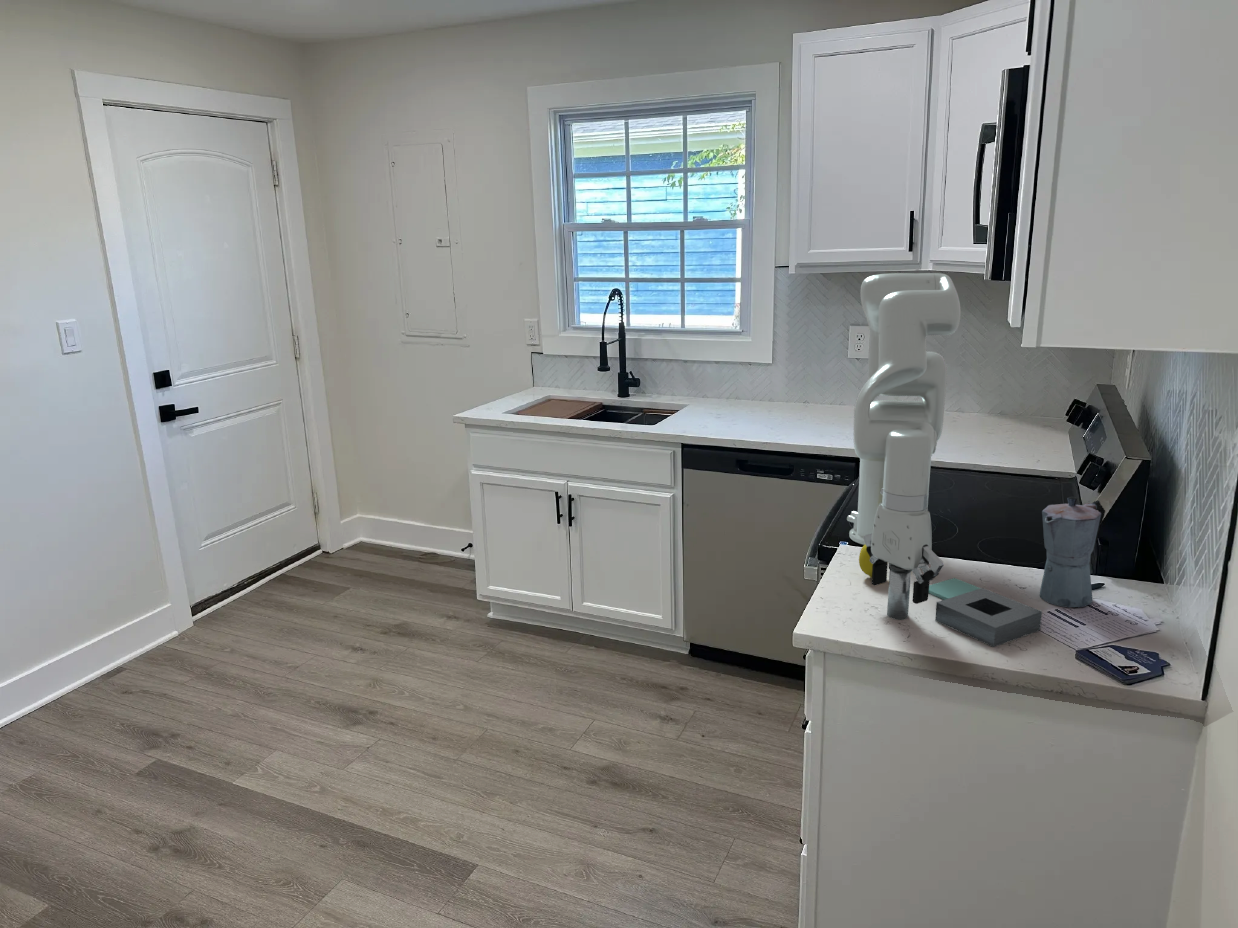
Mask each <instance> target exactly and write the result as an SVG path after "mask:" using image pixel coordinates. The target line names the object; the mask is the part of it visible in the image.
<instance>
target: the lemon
mask: <svg viewBox="0 0 1238 928" xmlns="http://www.w3.org/2000/svg"><path fill="white" fill-rule="evenodd" d="M866 548H867V546H866V544H865V545H862V547H861V550H860V552H859V555H858V563H859V567H860V569H861V571H862V572H863V573H864V574H865V575H867V576H868V577H870V579H872V565H873V564H872V563H871V562H870V556H869V554H868V552H867V550H866ZM887 564H888V565H889V563H888V562H887Z"/></svg>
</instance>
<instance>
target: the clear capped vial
mask: <svg viewBox="0 0 1238 928" xmlns="http://www.w3.org/2000/svg"><path fill="white" fill-rule="evenodd" d="M888 570H889V575H888V578H889V579H888V591H887V594H888V595H887V607H886V608H887V609H886V616H887V617H888V618H890V619H892V620H897V621H903V620H906V619H908V617H909V608H910V606H909V605H910V595H911V594H910V593H911V592H910V591H911V578H912V572H913V571H912V570H906V569H903V568H900V567H898V566H895V565H893V564H890V563H888Z"/></svg>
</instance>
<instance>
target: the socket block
mask: <svg viewBox="0 0 1238 928" xmlns="http://www.w3.org/2000/svg"><path fill="white" fill-rule="evenodd" d="M979 588H980V589H977V590H974V591H971V592H968V593H965V594H961V595H958V596H955V597H952V598H949V599H945V600H944V599H942V600H939V601H936V605H935V606H936V607H935V618H934V619H935V622H938V623H940V624H942V625H943V626H946V627H949V628H951V629H953V630H954V631H957V632H959V633H961V634H964V635H966V636H968V637H970V638H973V639H974V640H977V641H979V642H981V643H984V644H986V645H988V646H990V647H993V648H995V647H998V646H1001V645H1003V644H1006V643H1009V642H1011V641H1015V640H1017V639H1020V638H1023V637H1025V636H1028V635H1031V634H1033V633H1037V632H1039V631H1040V630H1041V624H1042V616H1043V611H1042V610H1040V609H1037V608H1035V607H1033V606H1030V605H1028V604H1027V605H1026V604H1024V603H1022V602H1019V601H1017V600H1015V599H1012V598H1009V597H1006V596H1004V595H1002V594H999V593H996V592H994V591H992V590H989V589H987V588H984V587H979Z"/></svg>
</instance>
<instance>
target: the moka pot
mask: <svg viewBox="0 0 1238 928" xmlns="http://www.w3.org/2000/svg"><path fill="white" fill-rule="evenodd" d="M1066 499H1067V503H1060V504H1058V503H1057V504H1048V505H1047V506H1046V507H1045V508H1044V509H1043V510H1041V515H1042V529H1043V539H1044V540H1043V542H1044V548H1045V549H1046V561H1045V564H1044V570H1043V576H1042V580H1041V585H1040V589H1039V597H1040V598H1041V599H1042V601H1044V602H1046V603H1048V604H1051V605H1054V606H1057V607H1062V608H1070V607H1078V608H1084V607H1086V606H1088V605H1091V604H1092V603H1093V592H1092V578H1091V567H1090V566H1091V565H1090V563H1091V554H1092V553H1093V552H1094V549H1095V548H1096V544H1097V540H1098V538H1099V537H1098V536H1099V533H1100V530H1101V527H1102V523H1103V520H1104V518H1105V513H1106V510H1105V508H1104V507H1103V505H1102V504H1101V502H1100V500H1095V501H1093V502H1092V503H1091V502H1089V503H1088V502H1087V503H1084V504H1083V505H1082V504H1077V500H1078V498H1077V497H1076V496H1069V497H1067V498H1066Z"/></svg>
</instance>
